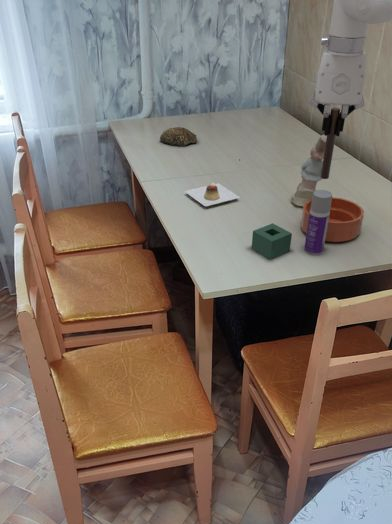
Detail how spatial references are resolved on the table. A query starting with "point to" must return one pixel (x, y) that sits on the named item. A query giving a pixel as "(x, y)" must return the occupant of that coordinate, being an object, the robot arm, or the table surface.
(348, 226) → the bowl
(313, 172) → the figurine
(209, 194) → the dessert
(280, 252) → the holder
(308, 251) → the container
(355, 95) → the robot arm
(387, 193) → the table surface
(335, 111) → the stick
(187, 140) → the brown rock
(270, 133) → the table surface
